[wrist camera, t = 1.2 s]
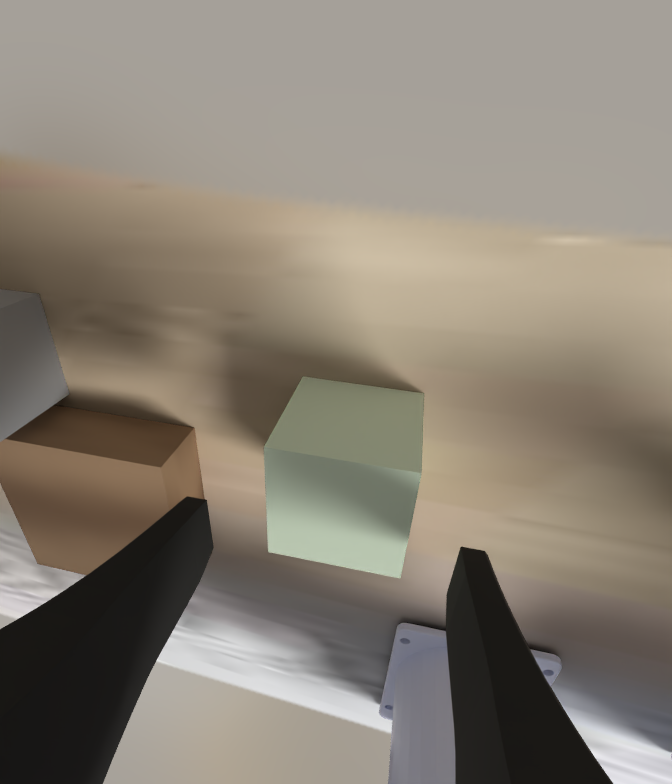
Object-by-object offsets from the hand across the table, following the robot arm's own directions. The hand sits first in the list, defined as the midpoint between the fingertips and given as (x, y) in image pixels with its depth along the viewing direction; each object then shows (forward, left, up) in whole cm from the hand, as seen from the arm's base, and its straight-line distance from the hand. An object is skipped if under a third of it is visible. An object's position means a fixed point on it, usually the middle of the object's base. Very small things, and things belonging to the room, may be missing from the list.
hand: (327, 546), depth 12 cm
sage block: (0, 0, -6) cm, 6 cm away
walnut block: (-5, +11, -6) cm, 14 cm away
